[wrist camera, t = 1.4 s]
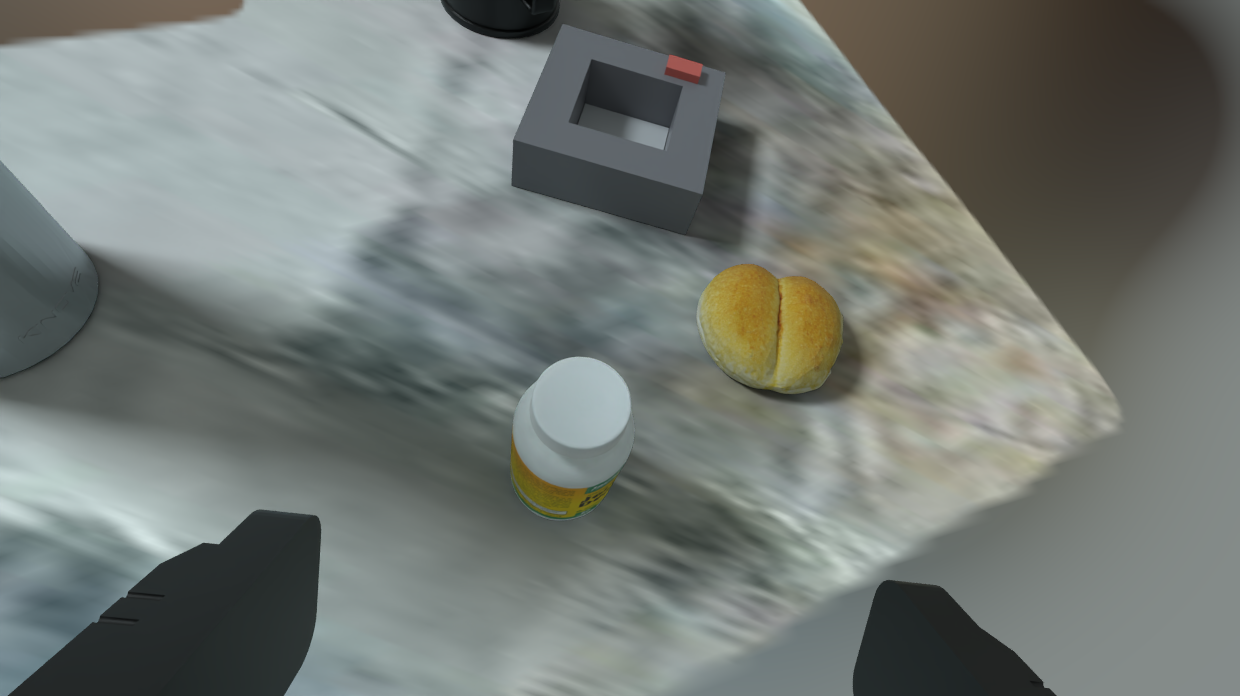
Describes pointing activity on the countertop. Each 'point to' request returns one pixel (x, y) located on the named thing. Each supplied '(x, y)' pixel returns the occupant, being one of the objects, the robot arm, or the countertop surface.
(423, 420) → the countertop surface
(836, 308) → the bread roll
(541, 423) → the supplement bottle
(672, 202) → the socket block
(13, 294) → the robot arm
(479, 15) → the french press
